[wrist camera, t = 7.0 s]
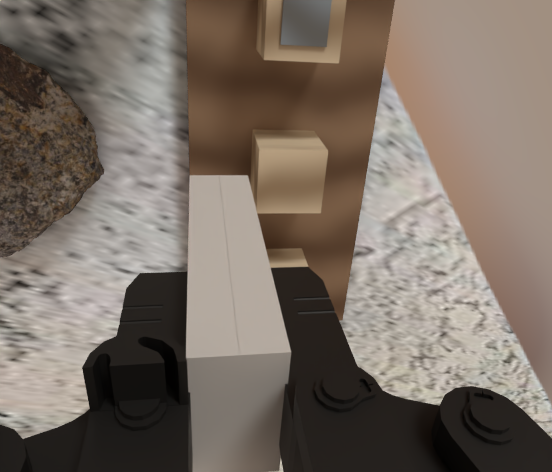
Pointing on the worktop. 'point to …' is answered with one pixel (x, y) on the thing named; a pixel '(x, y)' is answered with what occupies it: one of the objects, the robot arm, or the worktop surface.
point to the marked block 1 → (286, 258)
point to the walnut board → (289, 118)
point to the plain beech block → (287, 171)
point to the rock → (39, 152)
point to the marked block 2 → (300, 30)
